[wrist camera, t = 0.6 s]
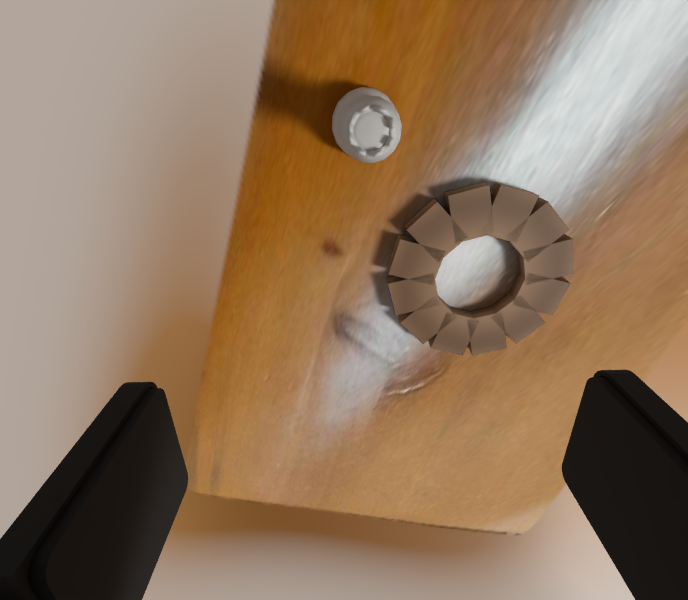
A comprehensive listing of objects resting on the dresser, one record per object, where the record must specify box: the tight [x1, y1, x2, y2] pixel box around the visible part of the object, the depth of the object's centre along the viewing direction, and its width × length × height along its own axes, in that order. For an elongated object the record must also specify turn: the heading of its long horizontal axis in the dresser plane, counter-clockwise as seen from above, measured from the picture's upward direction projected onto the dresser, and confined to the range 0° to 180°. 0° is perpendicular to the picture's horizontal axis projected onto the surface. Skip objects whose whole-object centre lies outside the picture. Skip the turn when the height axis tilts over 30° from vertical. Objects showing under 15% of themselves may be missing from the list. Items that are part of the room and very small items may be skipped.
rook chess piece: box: [332, 87, 402, 163], centre depth 24 cm, size 4×4×8 cm
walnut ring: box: [387, 182, 573, 355], centre depth 31 cm, size 14×14×1 cm
